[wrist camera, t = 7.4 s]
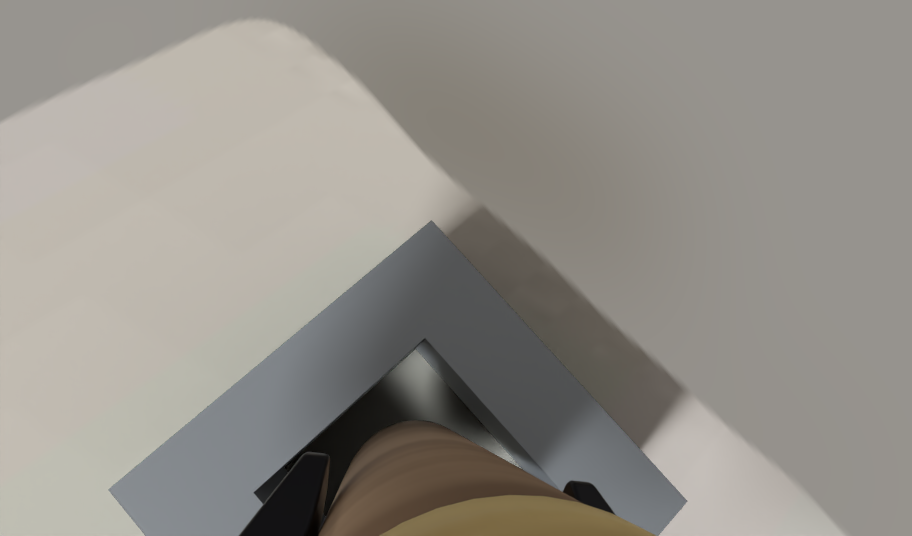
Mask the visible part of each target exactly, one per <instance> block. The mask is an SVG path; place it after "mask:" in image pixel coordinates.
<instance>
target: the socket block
mask: <svg viewBox="0 0 912 536" xmlns="http://www.w3.org/2000/svg"><path fill="white" fill-rule="evenodd" d="M415 349H416V350H417V351H418V352H419V353H420V354H421V355H422V356H423V357H424V359H425V360H426V361H427V362H428V363H429V364H430V365H431V366H432V368H433V369H434V370H435V371H436V372H437V373H438V374H439V375H440V377H441V378H442V379H443V380H444V381H445V382H446V383H447V384H448V386H449V387H450V388H451V389H452V390H453V391H454V392H455V394H456V395H457V396H458V397H459V398H460V399H461V400H462V401H463V403H464V404H465V405H466V406H467V407H468V408H469V409H470V410H471V412H472V413H473V414H474V415H475V416H476V417H477V418H478V419H479V421H480V422H481V423H482V424H483V425H484V426H485V427H486V428H487V430H488V431H489V432H490V433H491V434H492V435H493V436H494V437H495V439H496V440H497V441H498V442H499V443H500V444H501V445H502V447H503V448H504V449H505V450H506V451H507V452H508V453H509V454H510V456H511V457H512V458H513V459H514V460H515V461H516V462H517V463H518V465H519V466H520V467H521V468H522V469H523V470H524V471H526V472H527V473H529V474H531V475H533V476H535V477H536V478H538V479H540V480H542V481H544V482H545V483H547V484H549V485H551V486H553V487H554V488H556V489H558V490H560V491H562V492H563V490H564V488H565V485H566V484H567V482H569V481H571V480H574V481H583V482H589V483H591V484H593V485H594V486H595V487H596V488H597V490H598V491H599V492H600V494H601V495H602V496H603V498H604V499H605V501H606V502H607V503H608V505H609V506H610V507H611V509H612V510H613V512H614V513H615V514H616V516H618V517H620V518H622V519H624V520H626V521H628V522H630V523H632V524H634V525H636V526H639V527H641V528H643V529H645V530H646V531H648V532H650V533H652V534H654V535H656V536H658V535H659V534H660V533H661V532H662V531H663V530H664V528H665V527H666V526H667V525H668V524H669V522H670V521H671V520H672V519H673V518H674V517H675V515H676V514H677V513H678V512H679V511H680V509H681V508H682V507H683V506H684V505H685V503H686V502H687V500H686V499H685V498H684V497H683V496H682V495H681V494H680V492H679V491H678V490H677V489H676V488H675V487H674V486H673V485H672V484H671V483H670V482H669V480H668V479H667V478H666V477H665V476H664V475H663V474H662V473H661V472H660V471H659V469H658V468H657V467H656V466H655V465H654V464H653V463H652V462H651V461H650V460H649V458H648V457H647V456H646V455H645V454H644V453H643V452H642V451H641V450H640V449H639V447H638V446H637V445H636V444H635V443H634V442H633V441H632V440H631V439H630V438H629V436H628V435H627V434H626V433H625V432H624V431H623V430H622V429H621V428H620V427H619V426H618V424H617V423H616V422H615V421H614V420H613V419H612V418H611V417H610V416H609V415H608V413H607V412H606V411H605V410H604V409H603V408H602V407H601V406H600V405H599V404H598V402H597V401H596V400H595V399H594V398H593V397H592V396H591V395H590V394H589V393H588V391H587V390H586V389H585V388H584V387H583V386H582V385H581V384H580V383H579V382H578V380H577V379H576V378H575V377H574V376H573V375H572V374H571V373H570V372H569V371H568V369H567V368H566V367H565V366H564V365H563V364H562V363H561V362H560V361H559V360H558V359H557V357H556V356H555V355H554V354H553V353H552V352H551V351H550V350H549V349H548V348H547V346H546V345H545V344H544V343H543V342H542V341H541V340H540V339H539V338H538V337H537V335H536V334H535V333H534V332H533V331H532V330H531V329H530V328H529V327H528V326H527V324H526V323H525V322H524V321H523V320H522V319H521V318H520V317H519V316H518V315H517V313H516V312H515V311H514V310H513V309H512V308H511V307H510V306H509V305H508V304H507V303H506V301H505V300H504V299H503V298H502V297H501V296H500V295H499V294H498V293H497V292H496V290H495V289H494V288H493V287H492V286H491V285H490V284H489V283H488V282H487V281H486V279H485V278H484V277H483V276H482V275H481V274H480V273H479V272H478V271H477V270H476V268H475V267H474V266H473V265H472V264H471V263H470V262H469V261H468V260H467V259H466V257H465V256H464V255H463V254H462V253H461V252H460V251H459V250H458V249H457V248H456V246H455V245H454V244H453V243H452V242H451V241H450V240H449V239H448V238H447V237H446V236H445V234H444V233H443V232H442V231H441V230H440V229H439V228H438V227H437V226H436V225H435V223H434V222H433V221H432V220H431V221H430V222H429V223H428V224H426V225H425V226H424V227H423V228H422V229H420V230H419V231H418V232H417V233H416V234H414V235H413V236H412V237H411V238H410V239H408V240H407V241H406V242H405V243H404V244H402V245H401V246H400V247H399V248H398V249H396V250H395V251H394V252H393V253H392V254H390V255H389V256H388V257H387V258H386V259H384V260H383V261H382V262H381V263H380V264H378V265H377V266H376V267H375V268H374V269H372V270H371V271H370V272H369V273H368V274H366V275H365V276H364V277H363V278H362V279H360V280H359V281H358V282H357V283H356V284H354V285H353V286H352V287H351V288H350V289H348V290H347V291H346V292H345V293H344V294H342V295H341V296H340V297H339V298H338V299H336V300H335V301H334V302H333V303H332V304H330V305H329V306H328V307H327V308H326V309H324V310H323V311H322V312H321V313H320V314H318V315H317V316H316V317H315V318H314V319H312V320H311V321H310V322H309V323H308V324H306V325H305V326H304V327H303V328H302V329H300V330H299V331H298V332H297V333H296V334H294V335H293V336H292V337H291V338H290V339H288V340H287V341H286V342H285V343H284V344H282V345H281V346H280V347H279V348H278V349H276V350H275V351H274V352H273V353H272V354H270V355H269V356H268V357H267V358H266V359H264V360H263V361H262V362H261V363H260V364H258V365H257V366H256V367H255V368H254V369H252V370H251V371H250V372H249V373H248V374H246V375H245V376H244V377H243V378H242V379H240V380H239V381H238V382H237V383H236V384H234V385H233V386H232V387H231V388H230V389H228V390H227V391H226V392H225V393H224V394H222V395H221V396H220V397H219V398H218V399H216V400H215V401H214V402H213V403H212V404H210V405H209V406H208V407H207V408H206V409H204V410H203V411H202V412H201V413H200V414H198V415H197V416H196V417H195V418H194V419H192V420H191V421H190V422H189V423H188V424H186V425H185V426H184V427H183V428H182V429H180V430H179V431H178V432H177V433H176V434H174V435H173V436H172V437H171V438H170V439H168V440H167V441H166V442H165V443H164V444H162V445H161V446H160V447H159V448H158V449H156V450H155V451H154V452H153V453H152V454H150V455H149V456H148V457H147V458H146V459H144V460H143V461H142V462H141V463H140V464H138V465H137V466H136V467H135V468H134V469H132V470H131V471H130V472H129V473H128V474H126V475H125V476H124V477H123V478H122V479H120V480H119V481H118V482H117V483H116V484H114V485H113V486H112V487H111V488H110V489H108V490H109V491H110V493H111V494H112V495H113V496H114V498H115V499H116V500H117V501H118V502H119V504H120V505H121V506H122V507H123V509H124V510H125V511H126V512H127V514H128V515H129V516H130V517H131V519H132V520H133V521H134V522H135V523H136V525H137V526H138V527H139V528H140V530H141V531H142V532H143V533H144V535H145V536H239V534H240V533H241V532H242V531H243V529H244V528H245V527H246V525H247V524H248V523H249V522H250V520H251V519H252V518H253V517H254V515H255V514H256V513H257V512H258V510H259V509H260V508H261V506H262V505H263V504H264V503H265V501H266V500H267V499H268V498H269V496H270V495H271V494H272V493H273V491H274V490H275V489H276V487H277V486H278V485H279V484H280V482H281V481H282V480H283V479H284V477H285V476H286V475H287V474H288V472H287V470H286V469H285V468H284V467H285V466H286V465H287V464H288V463H290V462H291V461H292V460H293V459H294V458H295V457H296V456H297V455H298V454H300V453H301V452H302V451H303V450H304V449H305V448H306V447H307V446H308V445H310V444H311V443H312V442H313V441H314V440H315V439H316V438H317V437H318V436H319V435H321V434H322V433H323V432H324V431H325V430H326V429H327V428H328V427H329V426H331V425H332V424H333V423H334V422H335V421H336V420H337V419H338V418H339V417H341V416H342V415H343V414H344V413H345V412H346V411H347V410H348V409H349V408H351V407H352V406H353V405H354V404H355V403H356V402H357V401H358V400H359V399H361V398H362V397H363V396H364V395H365V394H366V393H367V392H368V391H369V390H370V389H372V388H373V387H374V386H375V385H376V384H377V383H378V382H379V381H380V380H382V379H383V378H384V377H385V376H386V375H387V374H388V373H389V372H390V371H392V370H393V369H394V368H395V367H396V366H397V365H398V364H399V363H400V362H402V361H403V360H404V359H405V358H406V357H407V356H408V355H409V354H410V353H411V352H413V351H414V350H415ZM325 518H326V516H325V515H324V514H323V516H322V521H321V526H320V529H321V527H322V525H323V523H324V521H325Z"/></svg>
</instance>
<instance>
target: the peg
mask: <svg viewBox="0 0 912 536" xmlns="http://www.w3.org/2000/svg"><path fill="white" fill-rule="evenodd" d="M318 536H656V535H654V534H652V533H650V532H648V531H646V530H645V529H643V528H641V527H639V526H636V525H634V524H632V523H630V522H628V521H626V520H624V519H622V518H620V517H618V516H616V515H614V514H612V513H610V512H607V511H604V510H600V509H597V508H594V507H591V506H588V505H585V504H583V503H582V502H580V501H578V500H576V499H574V498H573V497H571V496H569V495H567V494H565V493H563V492H562V491H560V490H558V489H556V488H554V487H553V486H551V485H549V484H547V483H545V482H544V481H542V480H540V479H538V478H536V477H535V476H533V475H531V474H529V473H527V472H526V471H524V470H522V469H520V468H518V467H517V466H515V465H513V464H511V463H509V462H508V461H506V460H504V459H502V458H500V457H498V456H497V455H495V454H493V453H491V452H489V451H488V450H486V449H484V448H482V447H480V446H479V445H477V444H475V443H473V442H471V441H470V440H468V439H466V438H464V437H462V436H461V435H459V434H457V433H455V432H453V431H452V430H450V429H448V428H446V427H444V426H442V425H439V424H436V423H433V422H428V421H420V420H412V421H404V422H399V423H395V424H393V425H390V426H388V427H386V428H384V429H382V430H380V431H378V432H377V433H376V434H374V435H373V436H371V437H370V438H369V439H368V440H367V441H366V442H365V443H364V444H363V445H362V446H361V448H360V449H359V450H358V451H357V453H356V454H355V456H354V457H353V459H352V461H351V463H350V465H349V467H348V469H347V472H346V474H345V476H344V478H343V480H342V483H341V485H340V487H339V489H338V492H337V494H336V496H335V498H334V501H333V503H332V505H331V507H330V509H329V512H328V514H327V516H326V518H325V521H324V523H323V525H322V527H321V529H320V532H319V534H318Z"/></svg>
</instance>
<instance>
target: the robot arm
mask: <svg viewBox="0 0 912 536" xmlns="http://www.w3.org/2000/svg"><path fill="white" fill-rule="evenodd" d="M329 465H330V457H329V455H328V454H325V453H315V452H306V453H304V454H303V455H302V456H301V457H300V458H299V460H298V461H297V462H296V463H295V465H294V466H293V467H292V468H291V470H290V471H289V472H288V474H287V475H286V476H285V477H284V479H283V480H282V481H281V482H280V484H279V485H278V486H277V487H276V489H275V490H274V491H273V493H272V494H271V495H270V496H269V498H268V499H267V500H266V501H265V503H264V504H263V505H262V506H261V508H260V509H259V510H258V512H257V513H256V514H255V515H254V517H253V518H252V519H251V520H250V522H249V523H248V524H247V525H246V527H245V528H244V529H243V531H242V532H241V533H240V534H239V536H318V534H319V532H320V526H321V521H322V516H323V511H324V506H325V500H326V495H327V488H328V477H329ZM563 493H565V494H567V495H569V496H571V497H573V498H574V499H576V500H578V501H580V502H582V503H583V504H585V505H588V506H591V507H594V508H597V509H600V510H604V511H607V512H610V513H612V514H614V515H616V514H615V513H614V512H613V510H612V509H611V507H610V506H609V505H608V503H607V502H606V501H605V499H604V498H603V496H602V495H601V494H600V492H599V491H598V490H597V488H596V487H595V486H594V485H593V484H591V483H589V482H583V481H574V480H571V481H569V482H567V484H566V485H565V488H564V490H563Z"/></svg>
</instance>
